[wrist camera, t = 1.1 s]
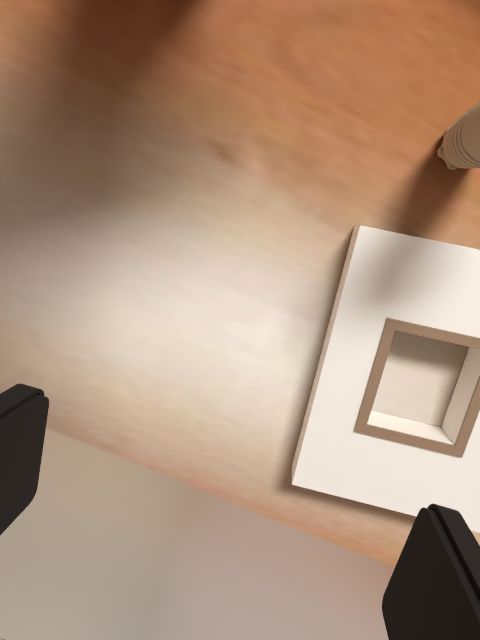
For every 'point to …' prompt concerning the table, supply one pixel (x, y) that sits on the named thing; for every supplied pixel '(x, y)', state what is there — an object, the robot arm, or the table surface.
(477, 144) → the handle
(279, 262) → the table surface
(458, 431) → the socket board
